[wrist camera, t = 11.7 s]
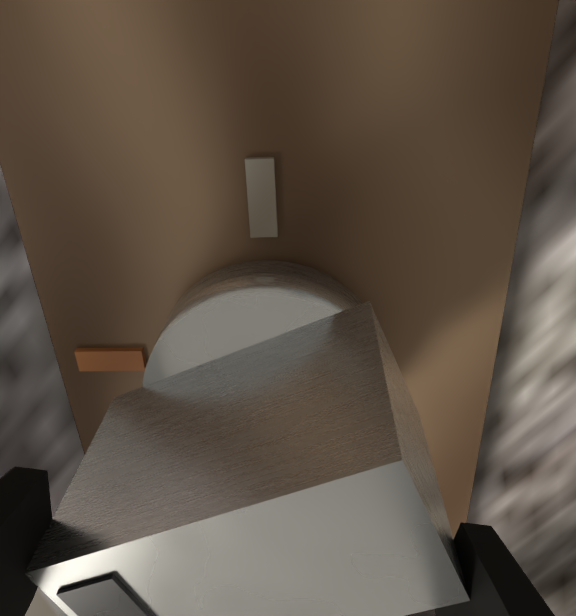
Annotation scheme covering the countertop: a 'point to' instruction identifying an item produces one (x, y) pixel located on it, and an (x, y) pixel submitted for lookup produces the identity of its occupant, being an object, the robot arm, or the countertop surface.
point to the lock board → (276, 175)
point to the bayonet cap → (257, 468)
